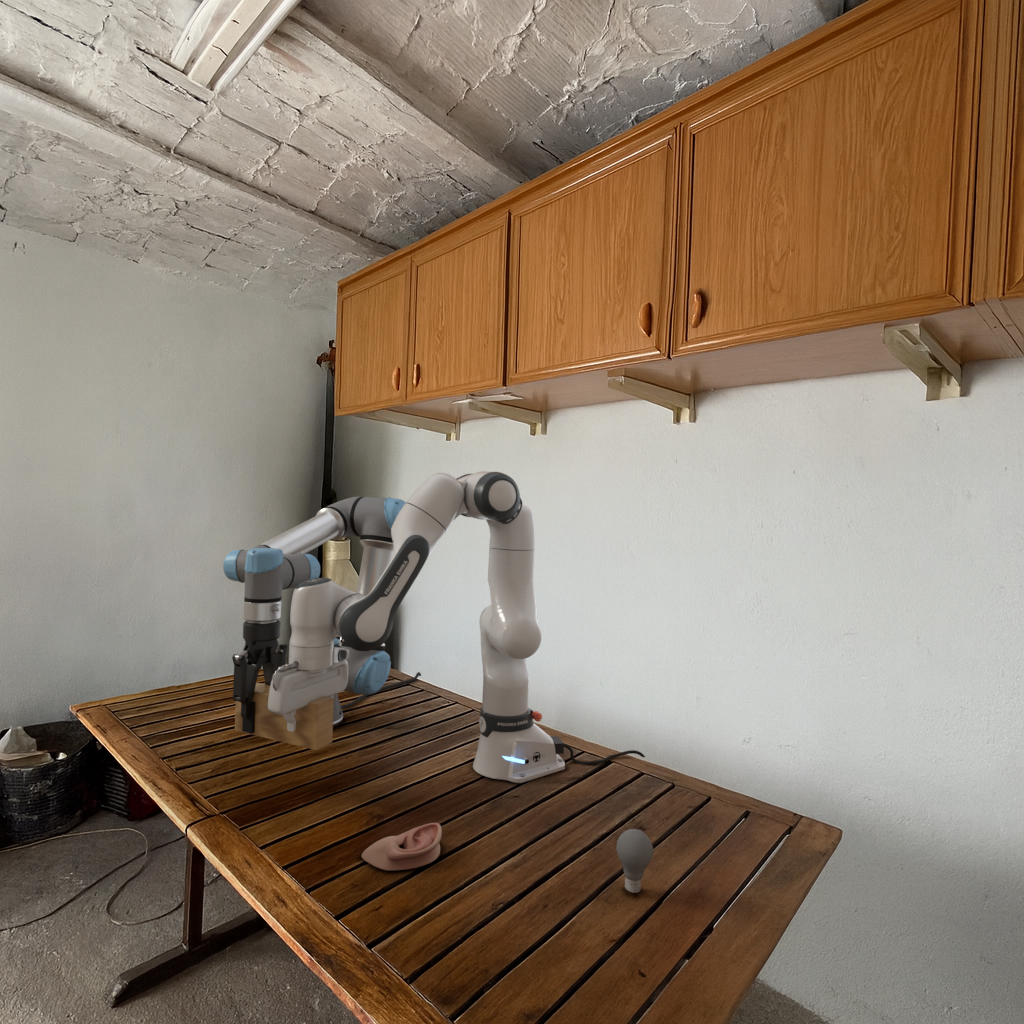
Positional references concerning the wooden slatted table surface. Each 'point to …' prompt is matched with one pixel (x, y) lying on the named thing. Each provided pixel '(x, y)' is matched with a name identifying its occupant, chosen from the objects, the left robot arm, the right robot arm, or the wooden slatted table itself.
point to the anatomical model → (406, 849)
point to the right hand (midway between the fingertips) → (308, 723)
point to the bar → (311, 719)
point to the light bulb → (634, 857)
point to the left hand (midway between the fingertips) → (258, 727)
